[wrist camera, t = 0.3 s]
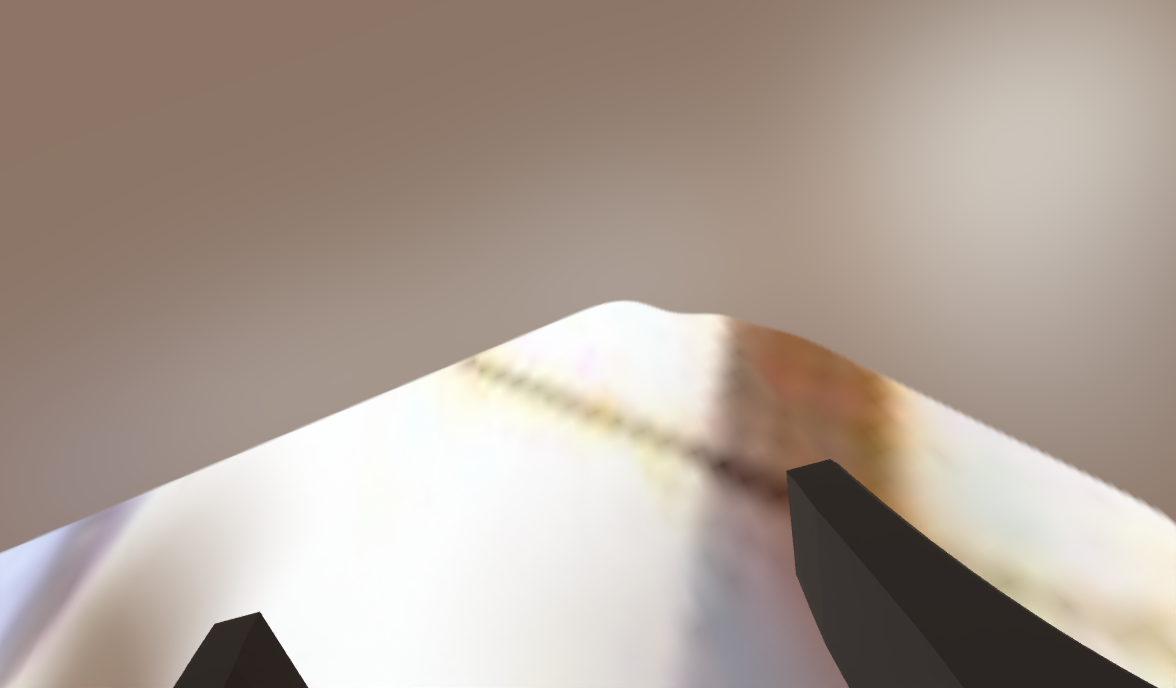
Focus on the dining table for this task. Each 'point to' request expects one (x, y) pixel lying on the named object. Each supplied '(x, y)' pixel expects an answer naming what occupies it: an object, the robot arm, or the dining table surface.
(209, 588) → the dining table surface
